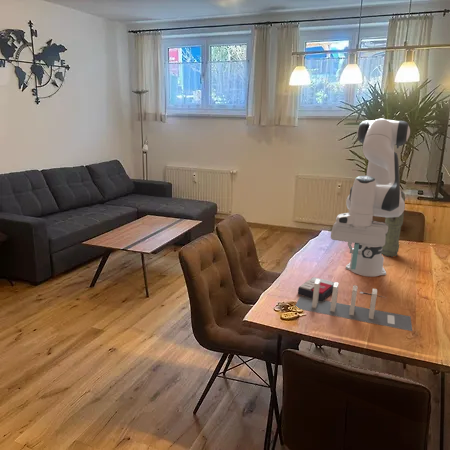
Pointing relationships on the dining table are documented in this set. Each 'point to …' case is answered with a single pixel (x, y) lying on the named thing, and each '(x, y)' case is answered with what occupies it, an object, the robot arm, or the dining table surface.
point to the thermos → (393, 234)
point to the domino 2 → (334, 296)
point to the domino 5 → (372, 303)
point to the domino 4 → (353, 300)
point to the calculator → (324, 289)
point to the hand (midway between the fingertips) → (355, 253)
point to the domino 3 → (355, 256)
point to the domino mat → (357, 313)
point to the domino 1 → (316, 293)
